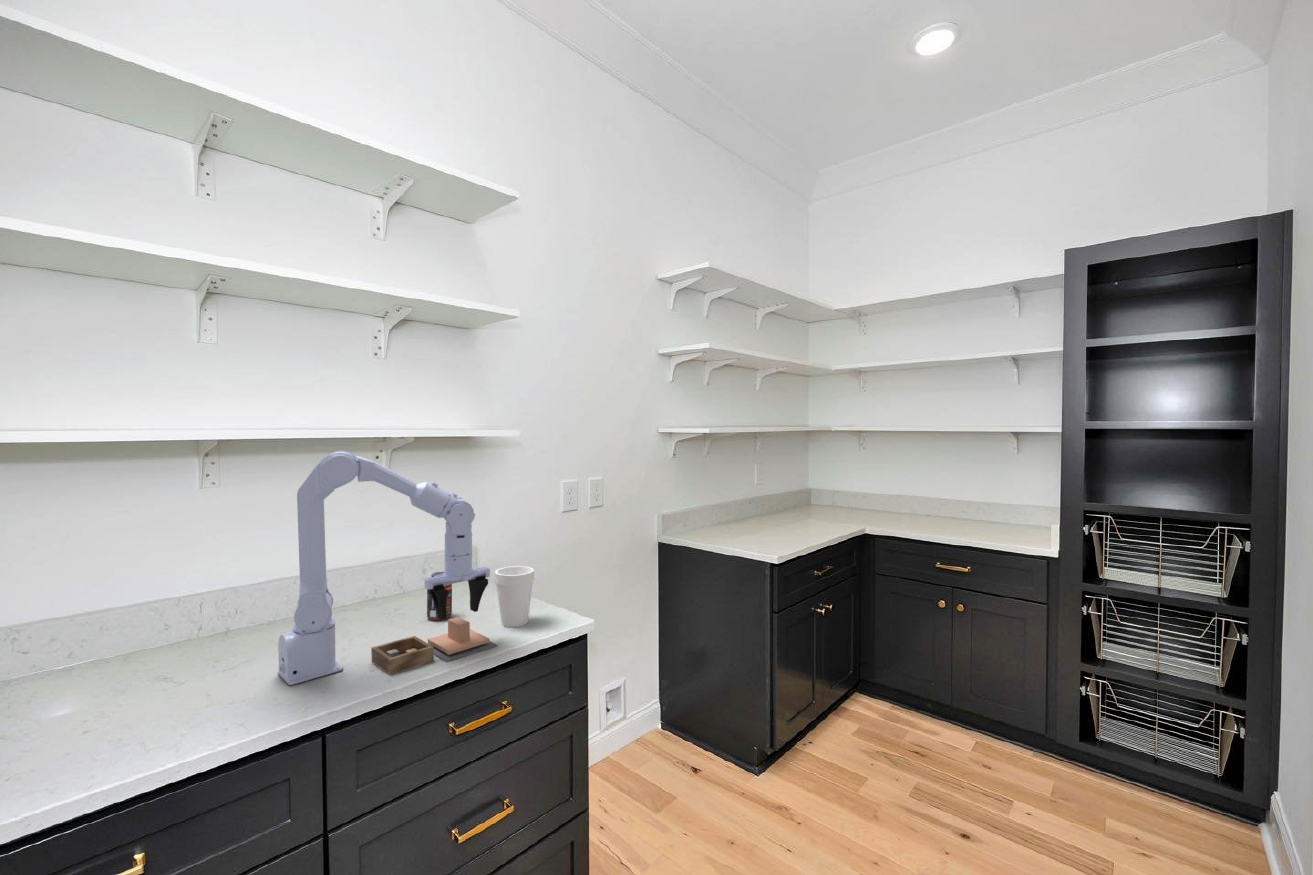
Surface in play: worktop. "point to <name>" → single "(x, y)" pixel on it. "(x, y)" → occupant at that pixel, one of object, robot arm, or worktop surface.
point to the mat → (462, 652)
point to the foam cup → (514, 594)
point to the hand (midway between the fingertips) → (458, 614)
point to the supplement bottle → (431, 606)
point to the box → (402, 654)
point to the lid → (458, 637)
